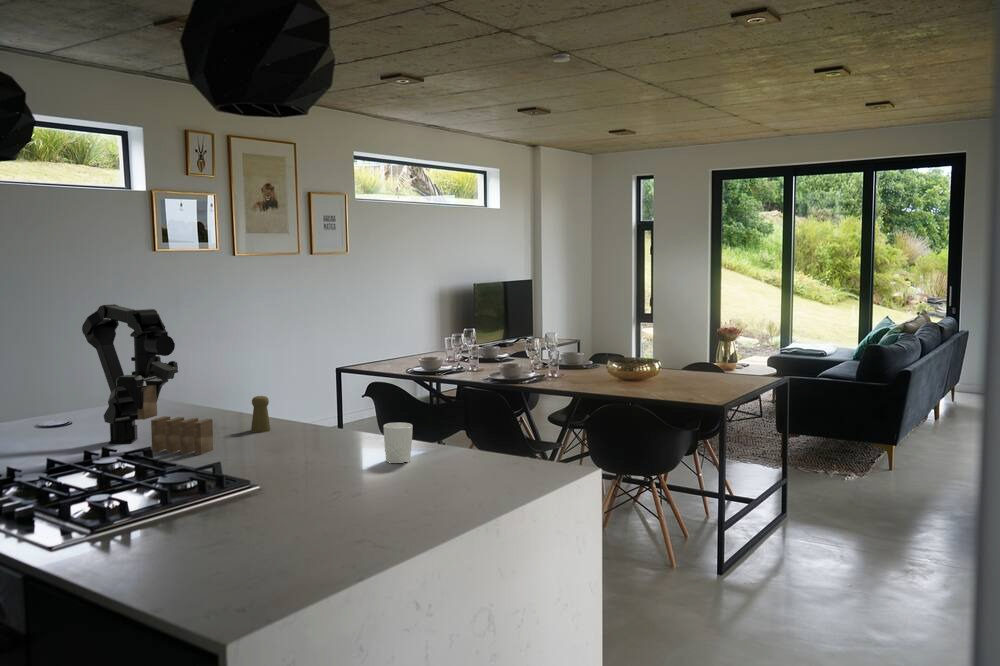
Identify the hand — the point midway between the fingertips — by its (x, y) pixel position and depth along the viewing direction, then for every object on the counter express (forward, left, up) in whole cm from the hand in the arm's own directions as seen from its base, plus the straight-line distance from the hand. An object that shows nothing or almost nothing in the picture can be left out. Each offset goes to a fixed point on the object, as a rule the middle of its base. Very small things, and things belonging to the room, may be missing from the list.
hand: (147, 407), depth 229 cm
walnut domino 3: (+8, -3, -12) cm, 15 cm away
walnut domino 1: (0, 0, -3) cm, 3 cm away
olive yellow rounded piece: (+28, +21, -12) cm, 37 cm away
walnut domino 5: (+17, -6, -12) cm, 22 cm away
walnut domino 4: (+13, -5, -12) cm, 18 cm away
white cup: (+71, -22, -12) cm, 76 cm away
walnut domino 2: (+4, -2, -12) cm, 13 cm away
